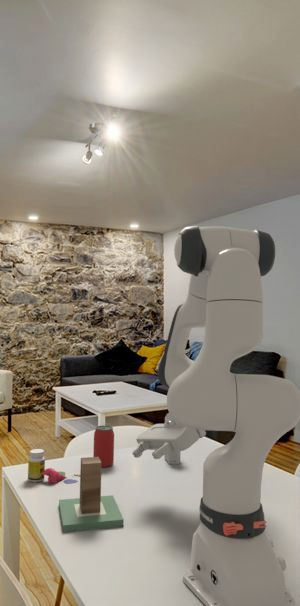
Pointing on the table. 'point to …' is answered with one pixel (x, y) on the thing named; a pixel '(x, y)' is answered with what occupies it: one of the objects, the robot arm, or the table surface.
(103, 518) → the plate
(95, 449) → the beer can
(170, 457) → the skincare box
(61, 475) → the toy pieces
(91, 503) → the walnut block
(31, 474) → the supplement bottle
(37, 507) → the table surface
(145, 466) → the table surface
